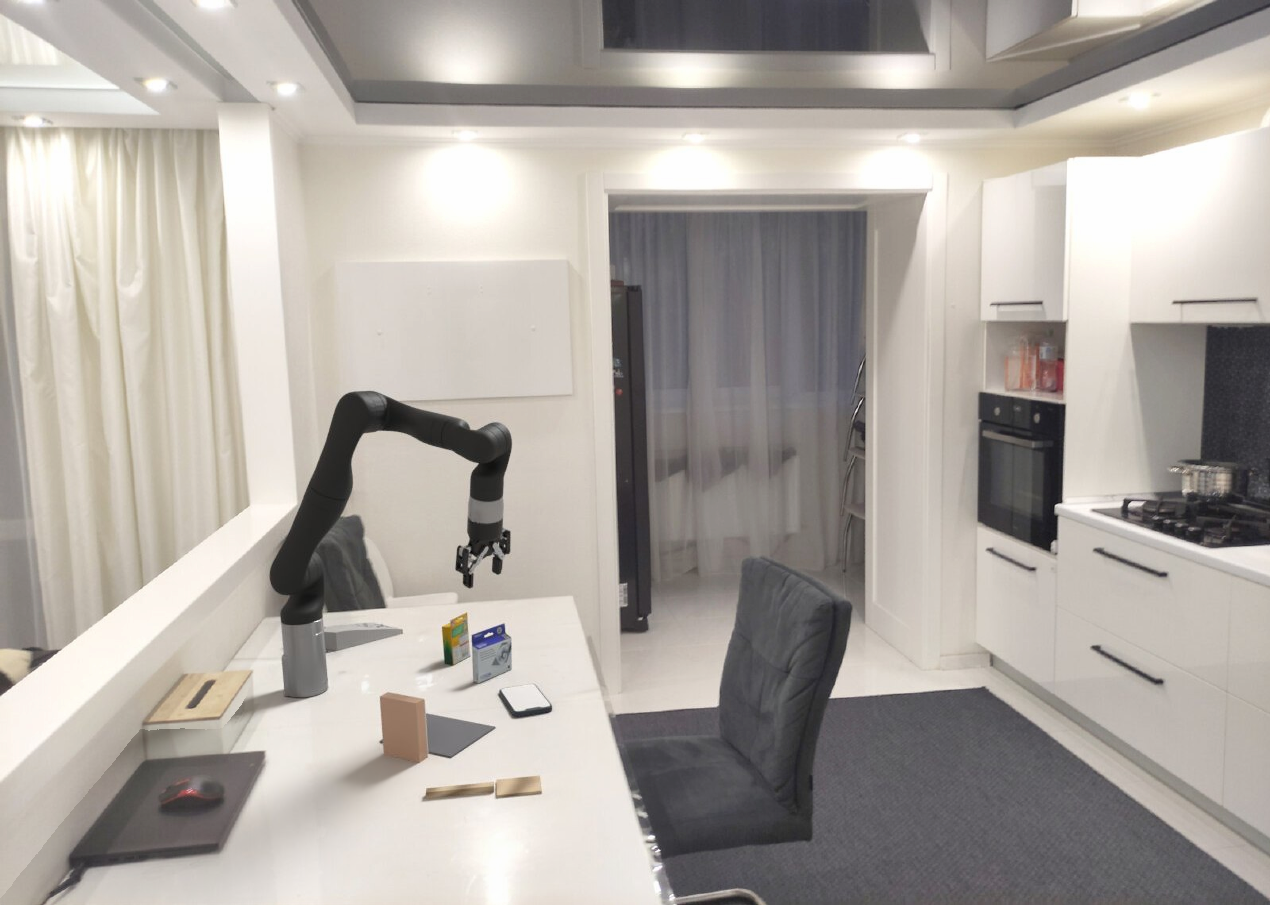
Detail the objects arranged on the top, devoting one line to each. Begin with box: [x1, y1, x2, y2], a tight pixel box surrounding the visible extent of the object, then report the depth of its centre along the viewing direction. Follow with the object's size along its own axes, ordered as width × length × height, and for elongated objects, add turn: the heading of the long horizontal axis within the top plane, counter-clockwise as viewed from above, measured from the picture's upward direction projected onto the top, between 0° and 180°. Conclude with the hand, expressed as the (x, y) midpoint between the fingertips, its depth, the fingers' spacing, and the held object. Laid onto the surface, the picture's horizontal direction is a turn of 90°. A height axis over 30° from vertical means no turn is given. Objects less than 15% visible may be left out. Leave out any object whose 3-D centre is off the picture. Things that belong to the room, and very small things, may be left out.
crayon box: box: [441, 612, 471, 666], centre depth 243 cm, size 7×3×12 cm, turn 154°
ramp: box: [324, 621, 404, 652], centre depth 262 cm, size 28×16×5 cm, turn 110°
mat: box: [379, 712, 496, 758], centre depth 199 cm, size 18×15×1 cm
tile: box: [379, 692, 429, 763], centre depth 190 cm, size 9×3×12 cm, turn 63°
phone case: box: [498, 683, 553, 718], centre depth 216 cm, size 9×2×16 cm
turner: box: [425, 775, 543, 800], centre depth 175 cm, size 20×6×1 cm, turn 98°
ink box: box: [471, 622, 513, 684], centre depth 231 cm, size 12×2×12 cm, turn 143°
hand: (482, 579), depth 213 cm, fingers open, 8 cm apart
